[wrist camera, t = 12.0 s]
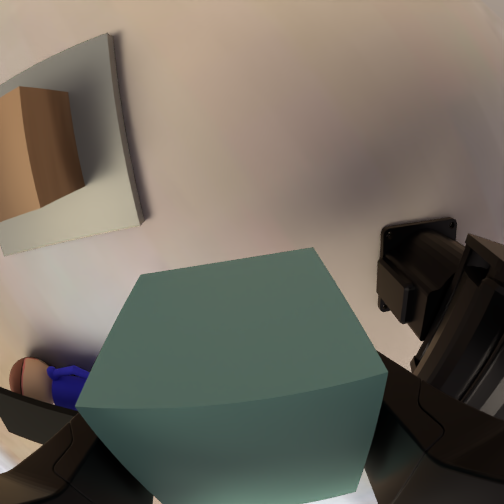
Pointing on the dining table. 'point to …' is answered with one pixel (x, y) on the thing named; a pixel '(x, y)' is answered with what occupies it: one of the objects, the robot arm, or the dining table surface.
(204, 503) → the teal block
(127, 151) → the base plate
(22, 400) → the figurine character
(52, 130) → the walnut block
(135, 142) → the dining table surface
